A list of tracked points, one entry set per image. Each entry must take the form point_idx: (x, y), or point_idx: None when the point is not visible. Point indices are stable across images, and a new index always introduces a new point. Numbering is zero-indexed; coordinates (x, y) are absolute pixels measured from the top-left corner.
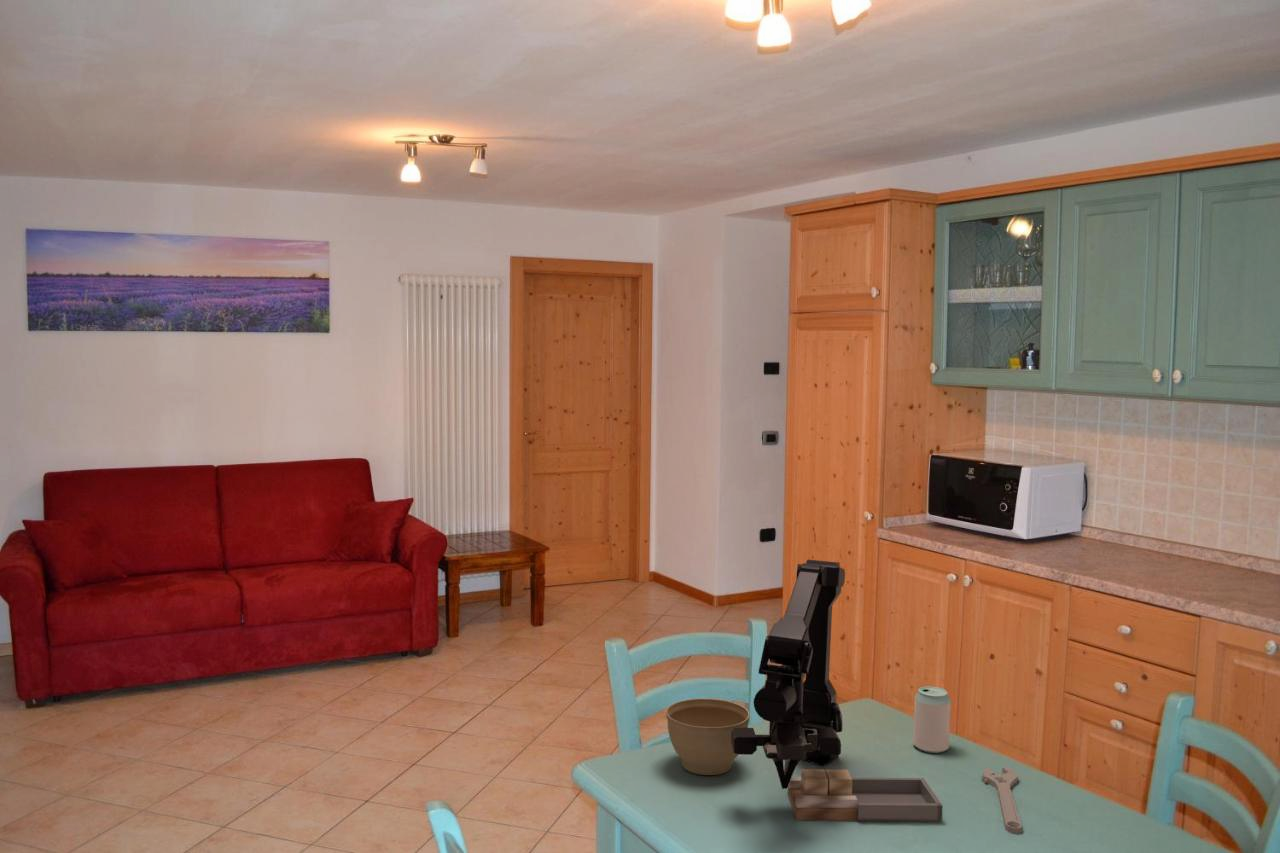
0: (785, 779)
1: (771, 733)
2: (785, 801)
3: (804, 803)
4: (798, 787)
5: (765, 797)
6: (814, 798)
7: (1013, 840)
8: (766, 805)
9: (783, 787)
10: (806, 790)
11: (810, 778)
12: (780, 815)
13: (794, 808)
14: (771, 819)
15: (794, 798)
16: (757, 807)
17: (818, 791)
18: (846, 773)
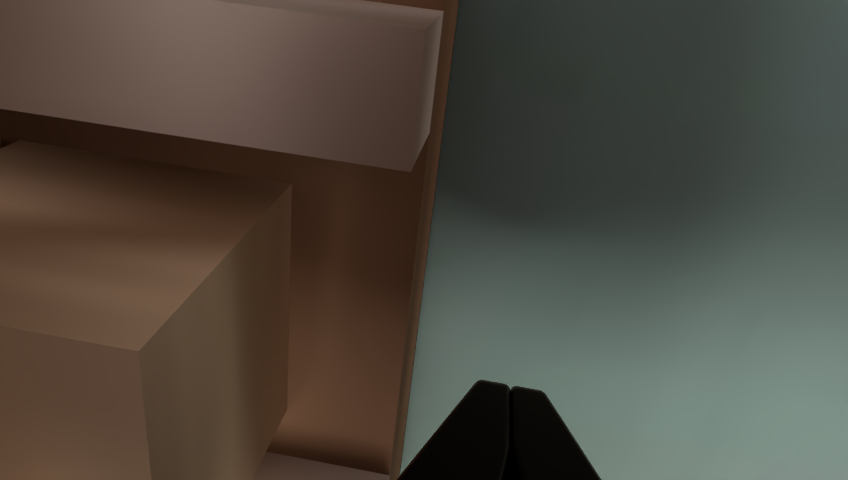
0: (504, 476)
1: None
2: (457, 372)
3: (318, 3)
4: (295, 466)
5: (618, 466)
6: (131, 22)
7: None
8: (677, 335)
9: (530, 395)
10: (212, 239)
11: (34, 355)
12: (618, 106)
13: (434, 158)
14: (773, 19)
15: (400, 269)
16: (794, 313)
17: (45, 207)
18: None
